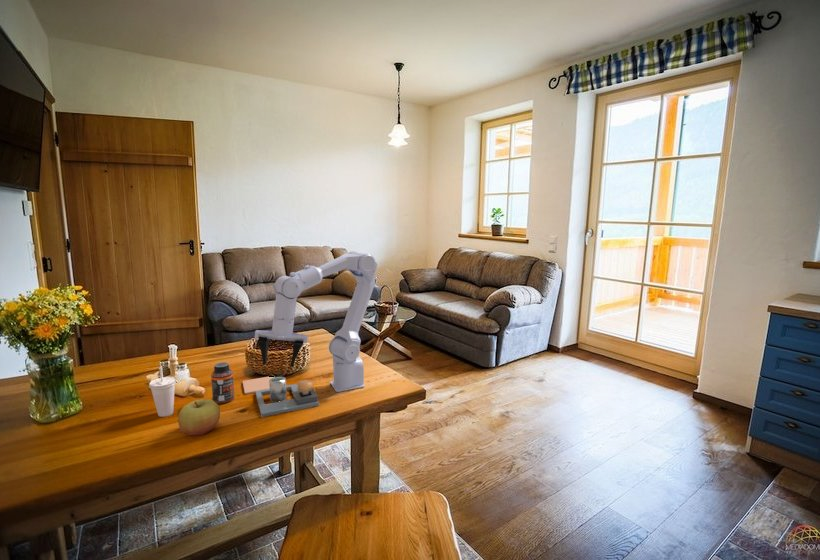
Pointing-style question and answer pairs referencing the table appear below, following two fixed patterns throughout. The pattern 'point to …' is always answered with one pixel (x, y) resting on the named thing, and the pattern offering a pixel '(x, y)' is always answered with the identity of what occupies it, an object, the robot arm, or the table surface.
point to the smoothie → (163, 394)
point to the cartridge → (277, 389)
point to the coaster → (256, 384)
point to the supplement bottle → (222, 383)
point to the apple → (199, 417)
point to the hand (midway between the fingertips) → (278, 364)
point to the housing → (287, 401)
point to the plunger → (305, 386)
